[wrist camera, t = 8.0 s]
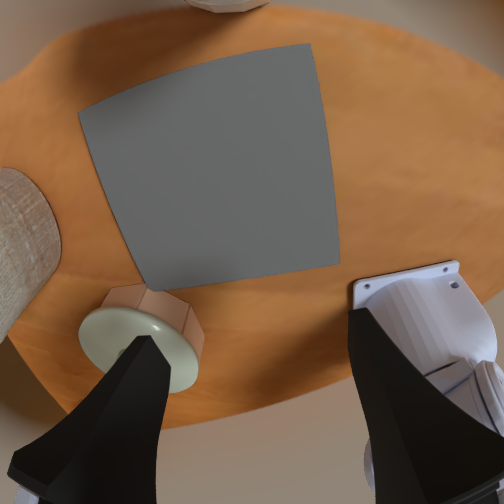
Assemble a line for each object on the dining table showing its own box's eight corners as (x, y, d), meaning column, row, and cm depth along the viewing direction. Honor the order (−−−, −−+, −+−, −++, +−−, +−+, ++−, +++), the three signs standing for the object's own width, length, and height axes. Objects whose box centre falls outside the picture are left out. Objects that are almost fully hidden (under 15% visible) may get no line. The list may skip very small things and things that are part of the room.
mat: (308, 44, 12) (310, 43, 12) (338, 258, 20) (340, 263, 19) (82, 111, 14) (77, 112, 14) (152, 287, 22) (150, 292, 21)
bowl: (178, 278, 21) (167, 310, 18) (214, 353, 26) (209, 385, 23) (88, 291, 22) (71, 318, 19) (132, 357, 27) (123, 384, 24)
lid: (175, 303, 18) (156, 364, 14) (213, 387, 23) (206, 436, 19) (62, 306, 19) (34, 352, 15) (115, 382, 24) (101, 423, 20)
